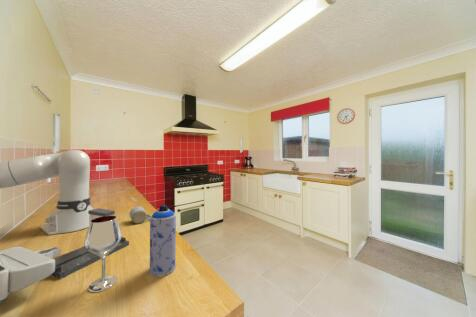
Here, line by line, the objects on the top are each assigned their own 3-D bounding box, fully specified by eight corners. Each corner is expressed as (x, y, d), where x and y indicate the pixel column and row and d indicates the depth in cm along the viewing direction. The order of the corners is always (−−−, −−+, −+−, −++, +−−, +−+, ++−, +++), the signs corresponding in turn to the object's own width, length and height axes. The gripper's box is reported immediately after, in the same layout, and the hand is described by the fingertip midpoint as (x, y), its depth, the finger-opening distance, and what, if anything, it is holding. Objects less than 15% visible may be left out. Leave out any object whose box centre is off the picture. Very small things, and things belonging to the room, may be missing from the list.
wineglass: (98, 274, 51) (99, 214, 51) (127, 273, 52) (127, 213, 52) (74, 296, 43) (75, 225, 43) (109, 294, 44) (109, 224, 44)
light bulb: (132, 225, 89) (132, 210, 89) (129, 221, 95) (129, 207, 95) (153, 221, 96) (154, 207, 96) (150, 217, 102) (150, 204, 102)
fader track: (37, 269, 53) (37, 261, 53) (108, 239, 73) (108, 234, 73) (60, 279, 49) (60, 270, 49) (129, 244, 69) (129, 238, 69)
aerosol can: (150, 264, 56) (150, 203, 56) (175, 259, 59) (176, 201, 59) (147, 280, 49) (147, 210, 49) (176, 273, 52) (176, 207, 52)
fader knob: (88, 245, 65) (88, 210, 65) (98, 241, 68) (98, 208, 68) (104, 250, 61) (105, 213, 62) (114, 245, 65) (114, 210, 65)
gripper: (-38, 280, 44) (40, 253, 57) (-1, 305, 37) (78, 267, 50) (-37, 255, 44) (40, 234, 57) (0, 276, 37) (78, 245, 50)
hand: (58, 249), depth 53 cm, fingers closed
